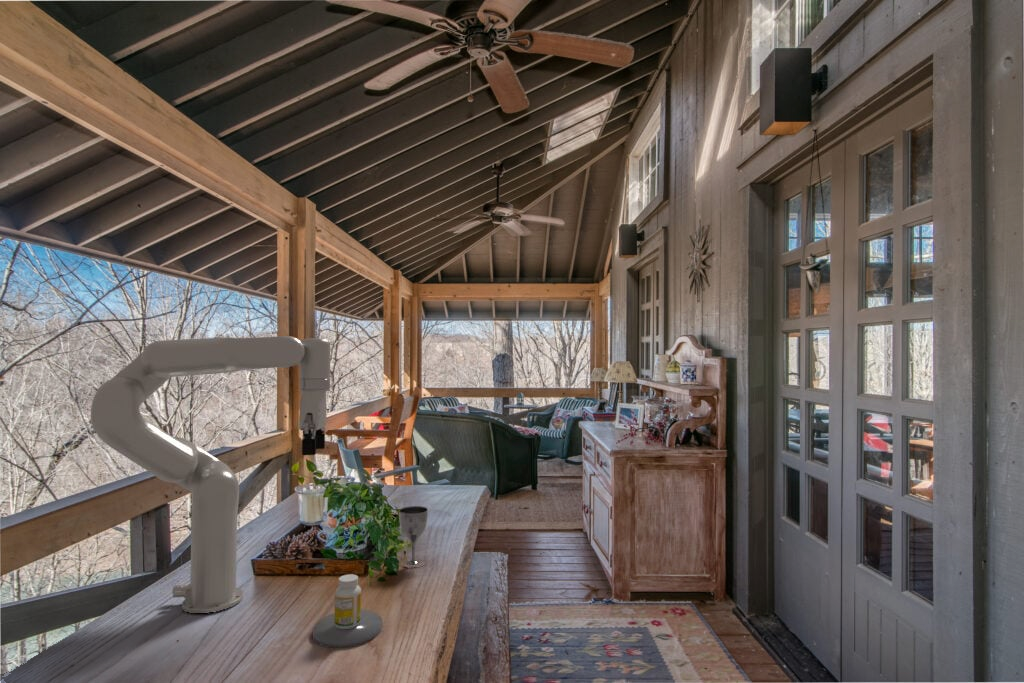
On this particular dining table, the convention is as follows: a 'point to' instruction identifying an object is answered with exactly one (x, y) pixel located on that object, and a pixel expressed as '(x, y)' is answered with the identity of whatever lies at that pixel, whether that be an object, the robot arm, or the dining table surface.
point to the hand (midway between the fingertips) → (313, 451)
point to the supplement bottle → (347, 602)
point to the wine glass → (413, 526)
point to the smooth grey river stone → (347, 631)
